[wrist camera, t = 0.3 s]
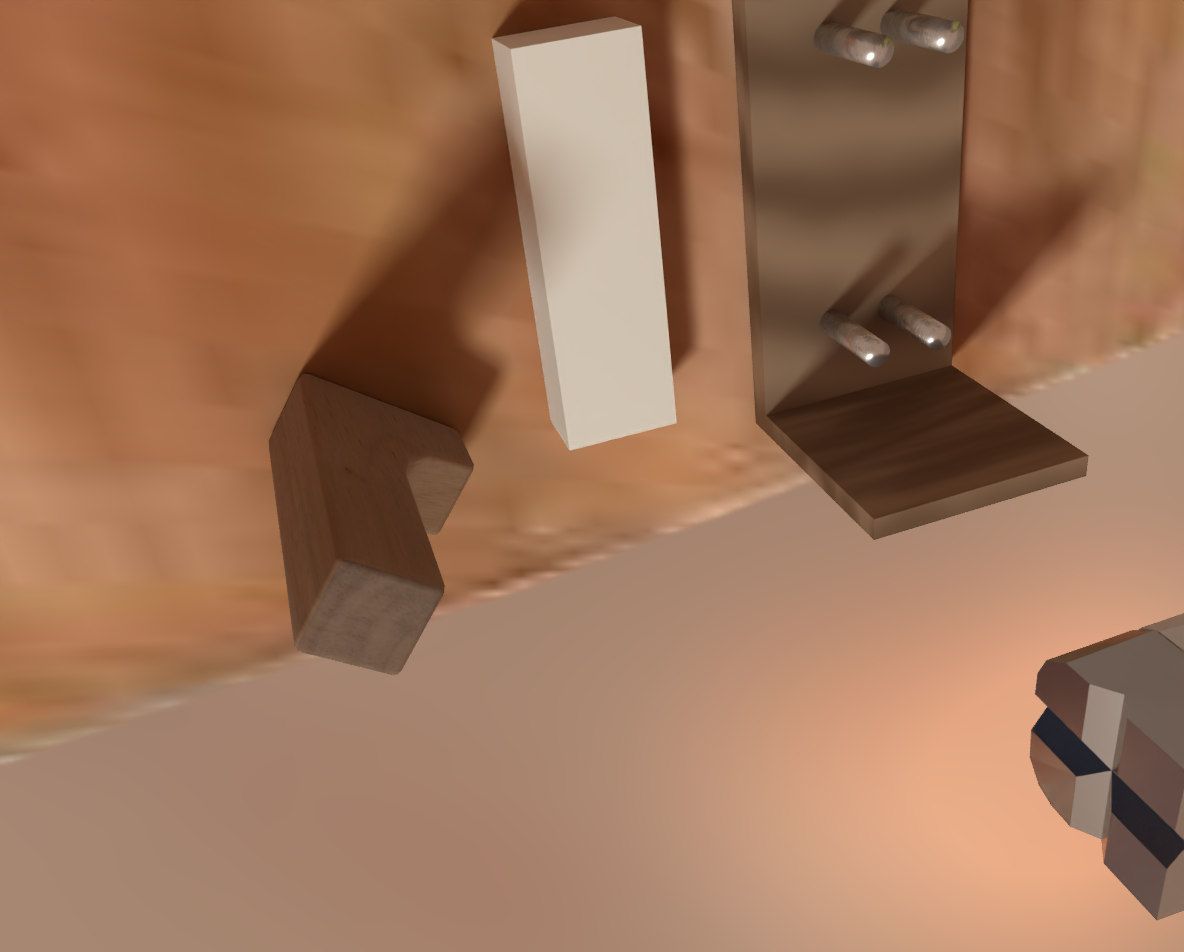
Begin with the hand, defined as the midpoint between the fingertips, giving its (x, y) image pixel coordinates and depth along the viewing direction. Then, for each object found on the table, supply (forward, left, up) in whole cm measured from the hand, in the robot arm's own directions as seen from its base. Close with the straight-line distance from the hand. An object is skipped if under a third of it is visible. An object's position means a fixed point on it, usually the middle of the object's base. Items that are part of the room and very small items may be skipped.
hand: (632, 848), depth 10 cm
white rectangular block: (+11, +12, -47) cm, 50 cm away
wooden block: (+19, -1, -47) cm, 50 cm away
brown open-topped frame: (+11, +27, -46) cm, 55 cm away
